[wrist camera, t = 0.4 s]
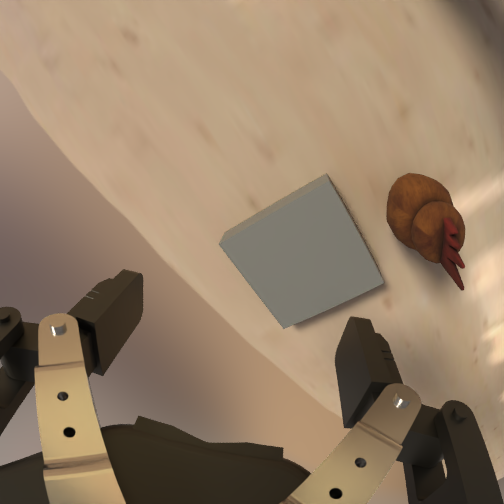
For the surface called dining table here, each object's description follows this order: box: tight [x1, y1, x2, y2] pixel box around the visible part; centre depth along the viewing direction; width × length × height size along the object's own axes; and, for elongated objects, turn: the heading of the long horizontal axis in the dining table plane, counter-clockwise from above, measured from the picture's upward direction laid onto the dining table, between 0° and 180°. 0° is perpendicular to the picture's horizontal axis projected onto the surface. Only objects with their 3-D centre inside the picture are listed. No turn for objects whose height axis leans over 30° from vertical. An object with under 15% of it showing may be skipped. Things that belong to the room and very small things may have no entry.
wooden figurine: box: [386, 173, 465, 290], centre depth 24 cm, size 7×6×15 cm
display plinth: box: [219, 173, 384, 329], centre depth 34 cm, size 13×13×3 cm
